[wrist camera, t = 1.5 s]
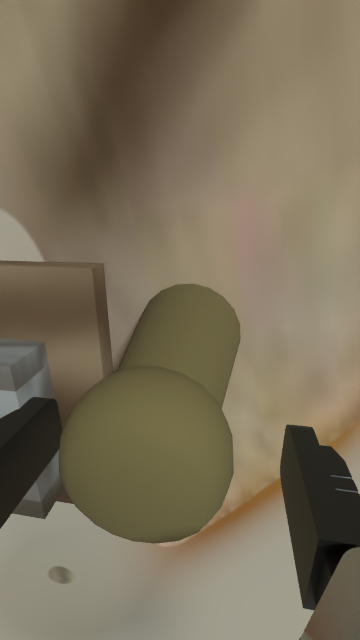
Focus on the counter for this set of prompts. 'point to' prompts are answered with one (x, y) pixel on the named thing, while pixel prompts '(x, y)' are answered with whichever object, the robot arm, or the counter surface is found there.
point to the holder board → (51, 349)
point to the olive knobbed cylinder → (158, 423)
